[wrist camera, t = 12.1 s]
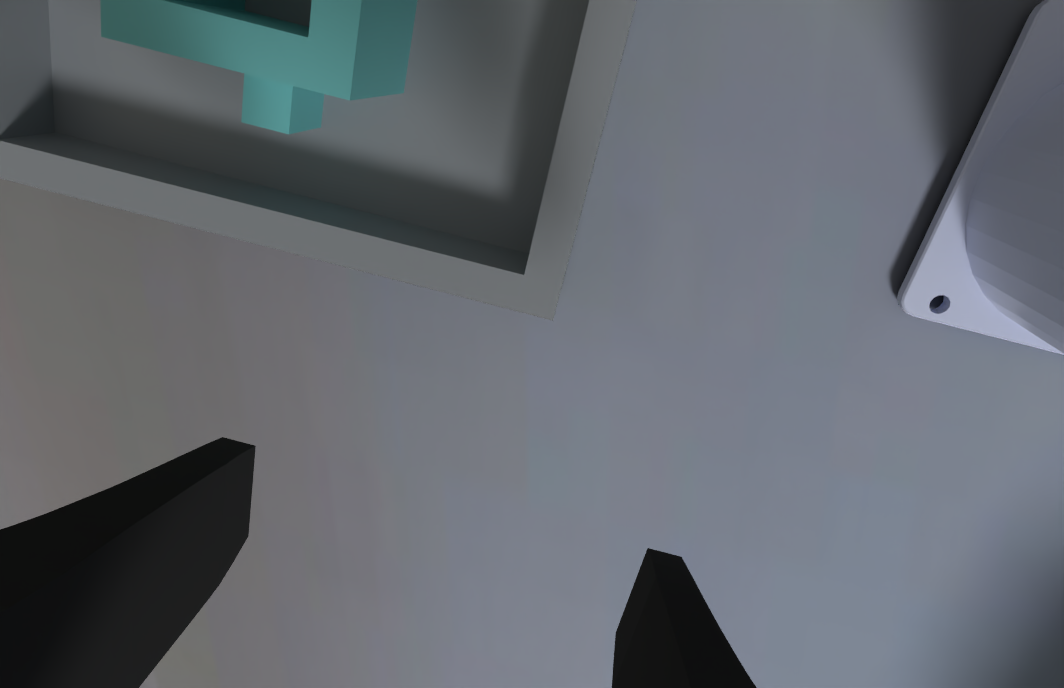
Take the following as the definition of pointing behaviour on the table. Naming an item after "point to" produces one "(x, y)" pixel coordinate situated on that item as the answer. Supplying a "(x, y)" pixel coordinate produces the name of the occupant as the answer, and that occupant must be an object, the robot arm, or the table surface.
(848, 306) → the table surface
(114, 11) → the teal hollow block
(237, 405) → the table surface
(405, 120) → the tray
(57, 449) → the table surface
